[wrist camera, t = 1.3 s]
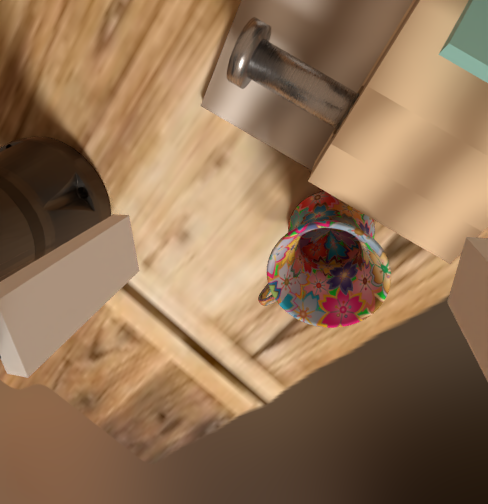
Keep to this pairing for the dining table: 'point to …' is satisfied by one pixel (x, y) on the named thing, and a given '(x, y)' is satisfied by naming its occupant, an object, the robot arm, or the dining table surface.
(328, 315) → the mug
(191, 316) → the dining table surface
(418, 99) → the block
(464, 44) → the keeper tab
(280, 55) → the pin
